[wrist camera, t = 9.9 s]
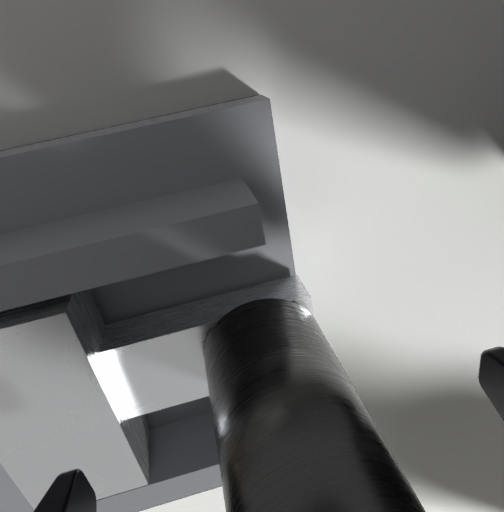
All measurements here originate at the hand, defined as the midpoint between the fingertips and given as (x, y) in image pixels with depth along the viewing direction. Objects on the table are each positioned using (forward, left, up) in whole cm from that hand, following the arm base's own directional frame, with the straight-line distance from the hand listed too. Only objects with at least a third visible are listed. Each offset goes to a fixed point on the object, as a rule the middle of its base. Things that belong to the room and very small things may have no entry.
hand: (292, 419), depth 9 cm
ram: (+3, 0, -4) cm, 5 cm away
